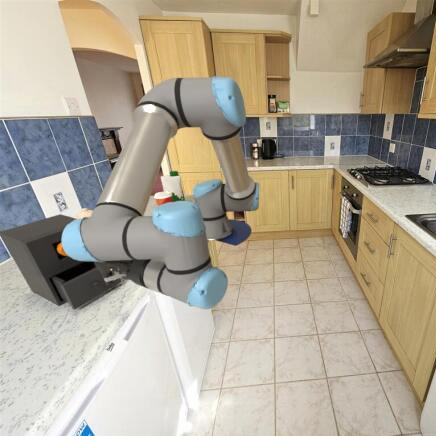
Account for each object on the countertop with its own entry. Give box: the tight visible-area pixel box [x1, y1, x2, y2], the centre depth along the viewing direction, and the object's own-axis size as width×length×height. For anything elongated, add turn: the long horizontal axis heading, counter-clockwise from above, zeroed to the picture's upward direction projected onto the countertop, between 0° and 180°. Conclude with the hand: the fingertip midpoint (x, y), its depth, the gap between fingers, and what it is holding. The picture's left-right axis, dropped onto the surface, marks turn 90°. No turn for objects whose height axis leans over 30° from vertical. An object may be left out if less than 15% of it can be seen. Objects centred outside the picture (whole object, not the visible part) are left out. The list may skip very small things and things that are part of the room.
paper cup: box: [153, 191, 173, 207], centre depth 116 cm, size 8×8×14 cm
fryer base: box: [16, 261, 85, 307], centre depth 73 cm, size 16×14×10 cm
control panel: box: [0, 213, 78, 277], centre depth 69 cm, size 15×14×10 cm
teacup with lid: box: [72, 207, 94, 219], centre depth 106 cm, size 12×9×12 cm
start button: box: [56, 242, 68, 256], centre depth 66 cm, size 2×4×4 cm, turn 155°
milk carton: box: [160, 170, 186, 202], centre depth 131 cm, size 9×9×20 cm
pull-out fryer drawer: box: [49, 261, 123, 311], centre depth 69 cm, size 16×12×8 cm
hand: (92, 248), depth 59 cm, fingers closed
